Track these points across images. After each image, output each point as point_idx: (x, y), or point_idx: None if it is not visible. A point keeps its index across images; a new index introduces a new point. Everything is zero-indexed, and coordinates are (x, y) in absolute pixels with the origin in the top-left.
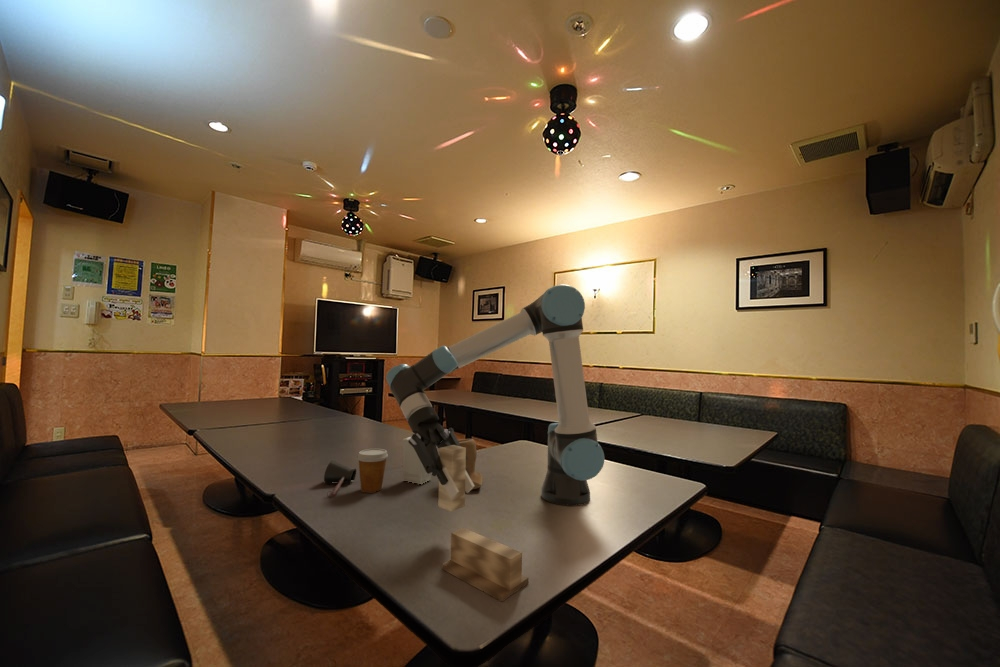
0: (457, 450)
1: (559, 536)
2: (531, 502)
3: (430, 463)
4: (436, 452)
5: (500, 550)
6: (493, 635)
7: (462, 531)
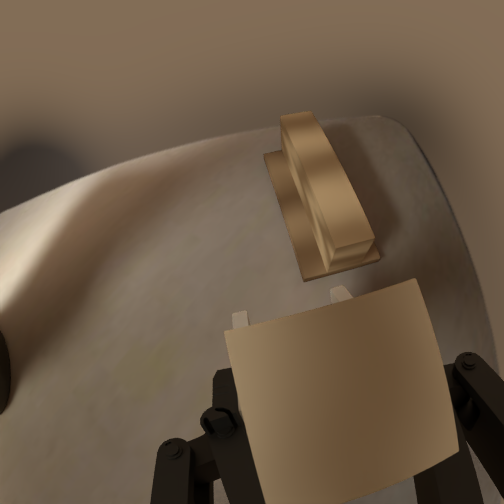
0: (348, 300)
1: (100, 248)
2: (30, 406)
3: (486, 368)
4: (446, 463)
5: (310, 134)
6: (362, 118)
7: (346, 230)
